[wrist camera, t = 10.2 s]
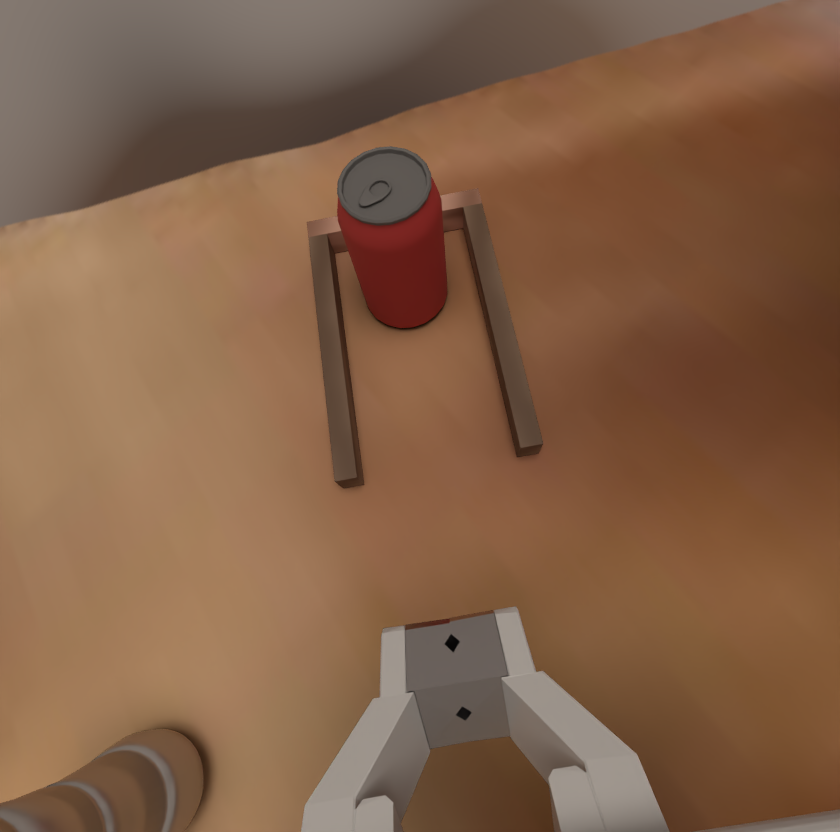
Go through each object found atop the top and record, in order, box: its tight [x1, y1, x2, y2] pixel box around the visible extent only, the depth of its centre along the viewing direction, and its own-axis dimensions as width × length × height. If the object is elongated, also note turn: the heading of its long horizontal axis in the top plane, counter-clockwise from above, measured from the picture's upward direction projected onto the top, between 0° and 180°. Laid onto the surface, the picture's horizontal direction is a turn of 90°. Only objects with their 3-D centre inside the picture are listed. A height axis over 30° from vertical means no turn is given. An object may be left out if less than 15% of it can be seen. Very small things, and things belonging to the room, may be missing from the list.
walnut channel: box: [307, 188, 543, 488], centre depth 38 cm, size 14×22×2 cm, turn 10°
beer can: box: [337, 147, 447, 328], centre depth 35 cm, size 7×7×12 cm
